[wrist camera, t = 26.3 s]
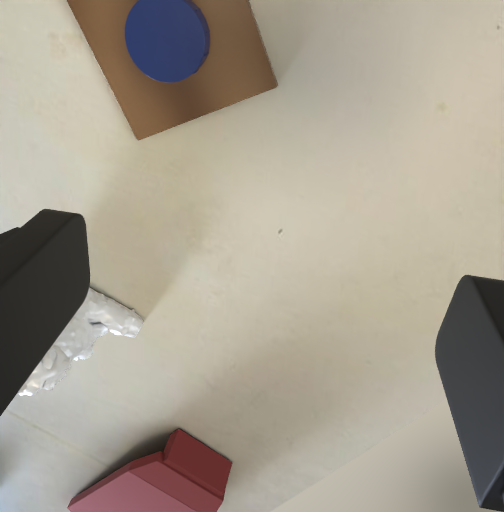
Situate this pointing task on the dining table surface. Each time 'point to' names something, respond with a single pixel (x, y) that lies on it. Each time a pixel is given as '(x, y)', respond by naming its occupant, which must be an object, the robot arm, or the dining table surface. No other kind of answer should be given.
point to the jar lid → (167, 38)
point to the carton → (162, 481)
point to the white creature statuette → (82, 339)
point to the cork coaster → (193, 87)
